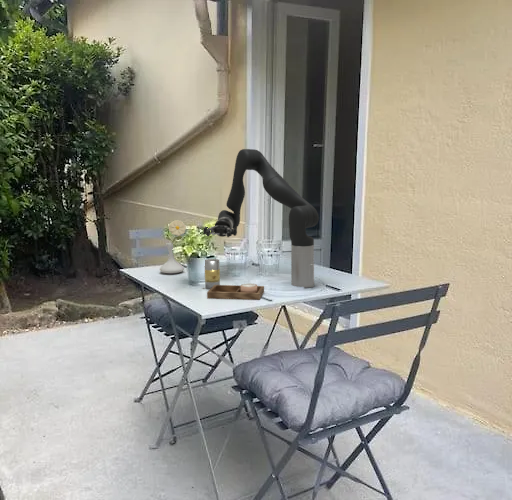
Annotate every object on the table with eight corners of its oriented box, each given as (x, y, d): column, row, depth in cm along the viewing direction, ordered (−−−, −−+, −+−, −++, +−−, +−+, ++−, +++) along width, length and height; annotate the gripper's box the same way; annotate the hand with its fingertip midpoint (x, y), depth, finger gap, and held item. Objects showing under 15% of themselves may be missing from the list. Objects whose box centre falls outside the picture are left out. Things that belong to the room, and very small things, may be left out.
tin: (221, 287, 225) (220, 259, 223) (218, 291, 219) (217, 261, 217) (207, 287, 226) (206, 258, 224) (203, 290, 220) (202, 261, 218)
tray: (264, 293, 214) (264, 286, 214) (259, 301, 203) (259, 293, 202) (214, 292, 217) (214, 284, 217) (207, 299, 206) (207, 292, 205)
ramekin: (258, 293, 212) (258, 283, 211) (255, 297, 205) (255, 287, 205) (242, 293, 213) (242, 282, 212) (239, 297, 206) (239, 286, 206)
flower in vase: (157, 275, 250) (155, 221, 246) (161, 270, 261) (159, 218, 257) (186, 275, 250) (184, 221, 246) (188, 270, 262) (187, 218, 257)
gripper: (208, 217, 243) (201, 225, 228) (239, 218, 242) (234, 226, 226) (208, 233, 245) (201, 242, 230) (239, 235, 244) (234, 243, 228)
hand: (217, 234), depth 228 cm, fingers open, 8 cm apart
